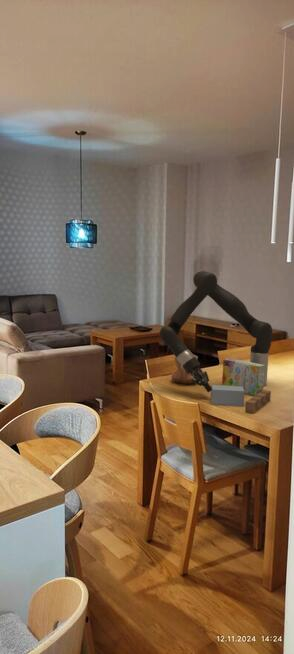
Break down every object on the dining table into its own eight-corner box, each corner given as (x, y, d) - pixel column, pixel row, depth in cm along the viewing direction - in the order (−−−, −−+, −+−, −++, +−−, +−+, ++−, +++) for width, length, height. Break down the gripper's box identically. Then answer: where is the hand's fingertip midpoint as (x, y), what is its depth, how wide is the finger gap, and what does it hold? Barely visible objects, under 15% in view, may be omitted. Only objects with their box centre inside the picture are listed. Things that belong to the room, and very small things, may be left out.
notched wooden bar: (262, 399, 223) (263, 389, 222) (270, 400, 221) (270, 391, 220) (245, 412, 202) (245, 402, 202) (252, 413, 201) (253, 403, 200)
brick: (210, 399, 220) (211, 384, 219) (241, 401, 219) (242, 386, 218) (211, 404, 212) (212, 389, 211) (243, 406, 211) (244, 391, 210)
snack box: (263, 395, 230) (265, 364, 228) (256, 397, 226) (259, 366, 224) (227, 385, 245) (229, 357, 243) (220, 387, 241) (222, 358, 239)
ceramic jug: (175, 377, 259) (176, 351, 257) (202, 379, 255) (202, 353, 252) (167, 386, 242) (167, 358, 240) (195, 388, 238) (196, 361, 236)
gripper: (187, 358, 217) (210, 389, 213) (199, 354, 228) (222, 383, 224) (176, 368, 221) (198, 398, 216) (189, 363, 232) (211, 392, 227)
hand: (210, 391), depth 220 cm, fingers closed
